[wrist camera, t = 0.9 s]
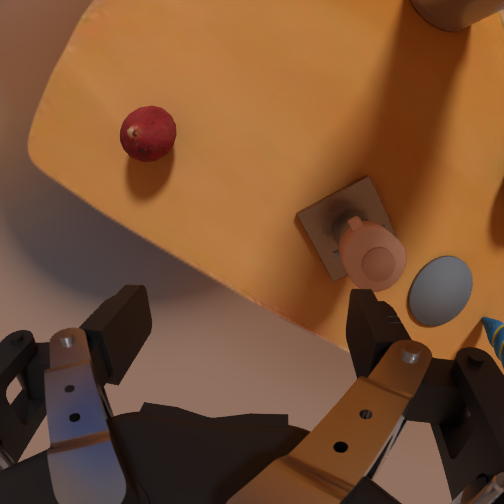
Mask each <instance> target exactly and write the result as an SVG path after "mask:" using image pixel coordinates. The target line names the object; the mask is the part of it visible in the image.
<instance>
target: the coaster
mask: <svg viewBox="0 0 504 504" xmlns="http://www.w3.org/2000/svg"><path fill="white" fill-rule="evenodd" d="M472 284H473V283H472V274H471V271H470V269H469V267H468V266H467V265H466V264H465V263H464V262H463V261H462V260H460V259H459V258H457V257H454V256H442V257H439V258H436V259H434V260H432V261H430V262H429V263H428V264H426V265H425V266H424V267H423V268H422V269H421V270H420V271H419V273H418V274H417V275H416V277H415V279H414V281H413V283H412V285H411V288H410V292H409V307H410V310H411V312H412V314H413V315H414V317H415V318H416V319H417V320H418V321H419V322H420V323H422V324H424V325H428V326H438V325H442V324H444V323H447V322H449V321H450V320H452V319H453V318H455V317H456V316H457V315H458V314H459V313H460V312H461V311H462V310H463V308H464V307H465V305H466V304H467V302H468V300H469V297H470V295H471V291H472Z"/></svg>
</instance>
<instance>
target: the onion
mask: <svg viewBox="0 0 504 504" xmlns="http://www.w3.org/2000/svg"><path fill="white" fill-rule="evenodd" d="M175 138H176V124H175V122H174V120H173V118H172V116H171V115H170V114H169V113H168V112H166V111H165V110H164V109H163V108H160V107H156V106H147V107H141V108H138V109H137V110H135V111H133V112H132V113H130V114H129V115H128V116H127V118H126V119H125V120H124V121H123V124H122V127H121V130H120V142H121V144H122V147H123V149H124V150H125V151H126V152H127V153H128V155H129V156H130V157H132V158H134V159H137V160H139V161H142V162H148V161H156V160H158V159H159V158H161V157H163V156H165V155H166V154H167V153H168V152H169V150H170V149H171V147H172V146H173V144H174V141H175Z"/></svg>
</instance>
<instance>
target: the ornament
mask: <svg viewBox="0 0 504 504" xmlns="http://www.w3.org/2000/svg"><path fill="white" fill-rule="evenodd" d="M482 323H483V325H484V328H485V330H486V333H487V337H488V340H489V342H490V344H491V346H492V347H493V348H494V350H495V353H496V356H497V358H498V359H499V360H500V361H502V365H503V368H504V324H503V323H502V322H501V321H498V320H495V319H491V318H487V317H483V318H482Z"/></svg>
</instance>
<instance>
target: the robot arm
mask: <svg viewBox="0 0 504 504" xmlns="http://www.w3.org/2000/svg"><path fill="white" fill-rule="evenodd" d="M410 1H411V3H412V4H413V6H414V8H415V9H416V10H417V11H418V13H419V14H420V15H421V16H422V17H423V18H424V19H425V20H427V21H428V22H429V23H431V24H432V25H434V26H436V27H437V28H440V29H442V30H445V31H450V32H456V31H460V30H462V29H464V28H466V27H468V26H470V25H472V24H474V23H476V22H478V21H480V20H482V19H484V18H486V17H488V16H490V15H492V14H494V13H497V12H499V11H501V10H503V9H504V0H410ZM151 329H152V318H151V313H150V307H149V302H148V296H147V291H146V288H145V287H144V286H143V285H125V286H124V287H123V288H122V289H121V290H120V291H119V292H118V293H117V294H116V295H115V296H113V297H111V298H109V299H107V300H106V301H104V302H103V303H102V304H101V305H100V306H99V308H98V309H96V310H95V311H94V313H93V314H91V315H90V316H89V318H88V319H87V320H86V321H85V322H84V323H83V324H82V325H81V326H80V327H79V328H67V329H63V330H60V331H58V332H57V333H55V334H54V335H53V336H52V337H51V339H50V342H45V343H36V342H35V339H34V337H33V334H32V333H31V332H30V331H27V330H20V331H16V332H13V333H11V334H9V335H8V336H6V337H5V338H4V339H3V340H2V341H1V342H0V504H402V503H400V502H399V501H398V500H396V499H395V498H394V497H393V496H391V495H390V494H389V493H387V492H386V491H385V490H384V489H382V488H381V487H380V486H379V485H377V484H376V483H375V482H374V481H373V480H374V478H375V476H376V475H377V473H378V471H379V470H380V468H381V466H382V465H383V463H384V461H385V459H386V458H387V456H388V455H389V453H390V451H391V449H392V448H393V446H394V444H395V443H396V441H397V439H398V438H399V436H400V434H401V432H402V430H403V429H404V427H405V425H406V423H407V421H408V420H409V421H417V422H427V423H430V424H431V427H432V430H433V433H434V436H435V439H436V443H437V446H438V450H439V453H440V456H441V460H442V463H443V467H444V471H445V474H446V478H447V482H448V486H449V489H450V493H451V498H452V502H451V503H450V504H504V375H503V373H502V372H501V370H500V369H499V367H498V366H497V364H496V363H495V361H494V360H493V358H492V357H491V356H490V355H489V354H488V353H487V352H485V351H483V350H481V349H478V348H473V347H467V348H463V349H461V350H459V351H458V352H457V354H456V357H455V360H446V359H437V358H433V357H432V353H431V351H430V349H429V348H428V347H427V346H425V345H424V344H422V343H420V342H417V341H413V340H411V338H410V336H409V334H408V333H407V331H406V329H405V327H404V326H403V324H402V323H401V320H400V319H399V317H397V314H396V312H395V310H394V309H393V307H391V306H390V305H389V304H387V303H386V302H384V301H378V300H377V299H376V297H375V295H374V293H373V291H372V290H371V289H352V290H351V293H350V300H349V308H348V316H347V323H346V339H347V343H348V347H349V350H350V354H351V358H352V361H353V365H354V368H355V372H356V376H357V380H356V381H355V382H354V384H353V385H352V386H351V387H350V388H349V390H348V391H347V392H346V393H345V394H344V396H343V397H342V398H341V399H340V400H339V401H338V403H337V404H336V405H335V406H334V407H333V408H332V409H331V410H330V412H329V413H328V414H327V415H326V416H325V417H324V418H323V419H322V420H321V421H320V423H319V424H318V425H317V426H316V427H315V428H314V429H313V430H312V431H311V432H310V431H308V430H305V429H302V428H299V427H296V426H291V425H288V414H243V415H236V416H227V417H217V418H210V417H206V416H202V415H199V414H196V413H193V412H190V411H187V410H184V409H181V408H178V407H173V406H165V405H159V404H152V403H146V402H144V404H143V406H142V408H141V410H140V412H131V413H125V414H120V415H117V416H114V415H113V412H112V409H111V406H110V403H109V400H108V397H107V394H106V391H105V388H104V386H105V384H106V383H109V384H114V385H119V384H120V382H121V380H122V379H123V377H124V375H125V374H126V372H127V370H128V369H129V367H130V366H131V364H132V362H133V361H134V359H135V357H136V356H137V354H138V353H139V351H140V349H141V348H142V346H143V345H144V343H145V341H146V340H147V338H148V336H149V335H150V333H151ZM15 377H17V379H18V381H19V383H20V385H21V387H22V390H21V392H20V393H19V394H18V396H17V397H16V398H15V400H14V401H13V402H12V404H11V405H10V404H9V402H8V400H7V398H6V390H7V387H8V386H9V384H10V383H11V382H12V381H13V379H14V378H15ZM46 414H47V420H48V429H49V437H50V448H49V449H47V450H45V451H43V452H41V453H38V454H36V455H34V456H32V457H30V458H28V459H25V460H23V461H21V462H19V463H17V462H18V460H19V459H20V457H21V455H22V454H23V452H24V450H25V449H26V447H27V445H28V444H29V442H30V440H31V439H32V437H33V435H34V434H35V432H36V430H37V429H38V427H39V426H40V424H41V422H42V421H43V419H44V418H45V416H46Z"/></svg>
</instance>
